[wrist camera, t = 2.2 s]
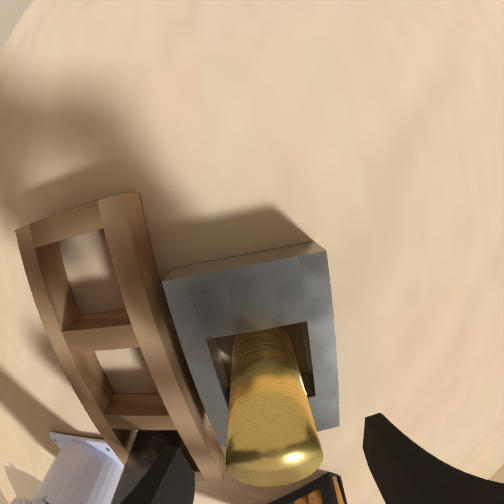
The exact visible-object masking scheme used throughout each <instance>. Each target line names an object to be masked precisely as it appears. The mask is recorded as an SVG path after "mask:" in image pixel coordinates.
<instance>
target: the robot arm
mask: <svg viewBox="0 0 504 504" xmlns="http://www.w3.org/2000/svg"><path fill="white" fill-rule="evenodd" d="M49 436H50V438H51V439H52V440H53V442H54V443H55V444H56V446H57V447H58V448H59V449H60V452H59V453H58V455H57V457H56V458H55V460H54V462H53V463H52V465H51V467H50V469H49V470H48V472H47V474H46V476H45V477H44V479H43V481H42V483H41V484H40V486H39V488H38V490H37V492H36V493H35V495H34V497H33V499H30V500H29V499H27V498H26V497H16V498H15V499H14V500H13V501H12V502H11V504H111V501H112V498H113V495H114V493H115V490H116V487H117V484H118V482H119V479H120V476H121V474H122V471H123V468H124V465H123V464H122V463H121V461H120V460H119V459H118V457H117V456H116V455H115V453H114V452H113V451H112V449H111V448H110V447H109V445H108V444H107V442H106V441H105V440H100V439H92V438H85V437H78V436H72V435H66V434H61V433H55V432H50V433H49ZM363 450H364V454H365V457H366V460H367V463H368V466H369V469H370V471H371V473H372V475H373V478H374V480H375V482H376V484H377V486H378V488H379V490H380V492H381V494H382V497H383V499H384V501H385V503H386V504H504V483H498V482H494V481H490V480H486V479H483V478H480V477H477V476H474V475H471V474H468V473H465V472H463V471H461V470H459V469H456V468H454V467H452V466H450V465H448V464H446V463H445V462H443V461H441V460H439V459H438V458H436V457H434V456H433V455H431V454H430V453H428V452H427V451H425V450H424V449H423V448H421V447H420V446H418V445H417V444H416V443H415V442H413V441H412V440H411V439H409V438H408V437H407V436H406V435H404V434H403V433H402V432H401V431H400V430H399V429H398V428H396V427H395V426H394V425H393V424H392V423H391V422H390V421H389V420H388V419H387V418H386V417H385V416H384V415H383V414H381V413H378V414H375V415H372V416H369V417H365V427H364V438H363ZM194 492H195V473H194V471H193V470H192V468H191V466H190V465H189V463H188V462H187V460H186V458H185V457H184V455H183V453H182V452H181V450H180V448H179V447H164V448H163V449H162V451H161V452H160V454H159V455H158V456H157V458H156V459H155V461H154V462H153V464H152V465H151V466H150V468H149V469H148V471H147V472H146V473H145V475H144V476H143V477H142V478H141V480H140V481H139V482H138V484H137V485H136V486H135V487H134V488H133V490H132V491H131V492H130V493H129V494H128V495H127V496H126V497H125V499H124V500H123V501H122V502H121V503H120V504H193V500H194Z"/></svg>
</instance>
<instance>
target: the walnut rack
mask: <svg viewBox="0 0 504 504" xmlns="http://www.w3.org/2000/svg"><path fill="white" fill-rule="evenodd" d="M101 228H104V233H105V237H106V241H107V245H108V249H109V253H110V257H111V260H112V264H113V268H114V271H115V275H116V278H117V282H118V285H119V288H120V292H121V295H122V298H123V301H124V304H125V307H126V310H120V311H113V312H105V313H98V314H90V315H83V316H80V315H79V312H78V309H77V307H76V304H75V301H74V298H73V295H72V292H71V289H70V286H69V282H68V279H67V276H66V272H65V269H64V265H63V262H62V258H61V254H60V250H59V246H58V242H57V241H60V240H63V239H66V238H70V237H73V236H77V235H80V234H84V233H87V232H91V231H94V230H98V229H101ZM15 232H16V236H17V241H18V245H19V249H20V254H21V257H22V261H23V265H24V269H25V272H26V276H27V279H28V282H29V286H30V289H31V292H32V295H33V298H34V301H35V304H36V306H37V309H38V312H39V315H40V317H41V320H42V323H43V325H44V328H45V330H46V333H47V335H48V337H49V340H50V342H51V344H52V347H53V349H54V351H55V353H56V355H57V358H58V360H59V362H60V364H61V366H62V368H63V370H64V372H65V374H66V376H67V378H68V380H69V382H70V384H71V385H72V387H73V389H74V391H75V393H76V395H77V396H78V398H79V400H80V402H81V403H82V405H83V407H84V408H85V410H86V412H87V413H88V415H89V417H90V418H91V420H92V421H93V423H94V424H95V426H96V428H97V429H98V431H99V432H100V434H101V435H102V437H103V438H104V439H105V441H106V442H107V444H108V445H109V447H110V448H111V449H112V451H113V452H114V453H115V455H116V456H117V457H118V459H119V460H120V461H121V463H122V464H123V465H124V466H125V463H126V460H127V458H128V455H129V453H130V450H131V447H132V445H133V442H134V440H135V437H136V435H137V433H136V431H135V430H177V431H178V433H179V434H180V436H181V438H182V440H183V442H184V444H185V446H186V447H187V449H188V450H182V453H183V455H184V457H185V458H186V460H187V462H188V463H189V465H190V466H191V468H192V470H193V471H194V473H195V480H223V473H224V455H223V453H222V451H221V449H220V447H219V444H218V442H217V440H216V438H215V435H214V433H213V431H212V429H211V426H210V424H209V421H208V419H207V417H206V414H205V412H204V409H203V407H202V404H201V402H200V399H199V397H198V394H197V392H196V389H195V386H194V384H193V381H192V378H191V376H190V373H189V370H188V368H187V365H186V362H185V359H184V356H183V353H182V350H181V347H180V345H179V342H178V339H177V335H176V332H175V329H174V326H173V323H172V320H171V317H170V313H169V310H168V307H167V303H166V300H165V297H164V293H163V290H162V286H161V283H160V279H159V275H158V271H157V268H156V264H155V260H154V256H153V252H152V248H151V244H150V240H149V236H148V231H147V227H146V222H145V218H144V213H143V209H142V204H141V199H140V194H139V192H136V193H121V194H117V195H114V196H111V197H107V198H104V199H101V200H98V201H95V202H91V203H88V204H85V205H82V206H79V207H76V208H73V209H71V210H68V211H65V212H62V213H59V214H56V215H54V216H51V217H48V218H45V219H43V220H40V221H38V222H35V223H32V224H30V225H27V226H25V227H22V228H20V229H17V230H15ZM135 347H140V349H141V351H142V354H143V357H144V359H145V361H146V364H147V366H148V369H149V371H150V373H151V376H152V378H153V380H154V383H155V385H156V387H157V389H158V392H159V393H149V394H114V392H113V390H112V388H111V386H110V385H109V382H108V380H107V378H106V376H105V374H104V372H103V370H102V368H101V366H100V364H99V361H98V359H97V357H96V355H95V352H94V351H96V350H111V349H124V348H135Z"/></svg>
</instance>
